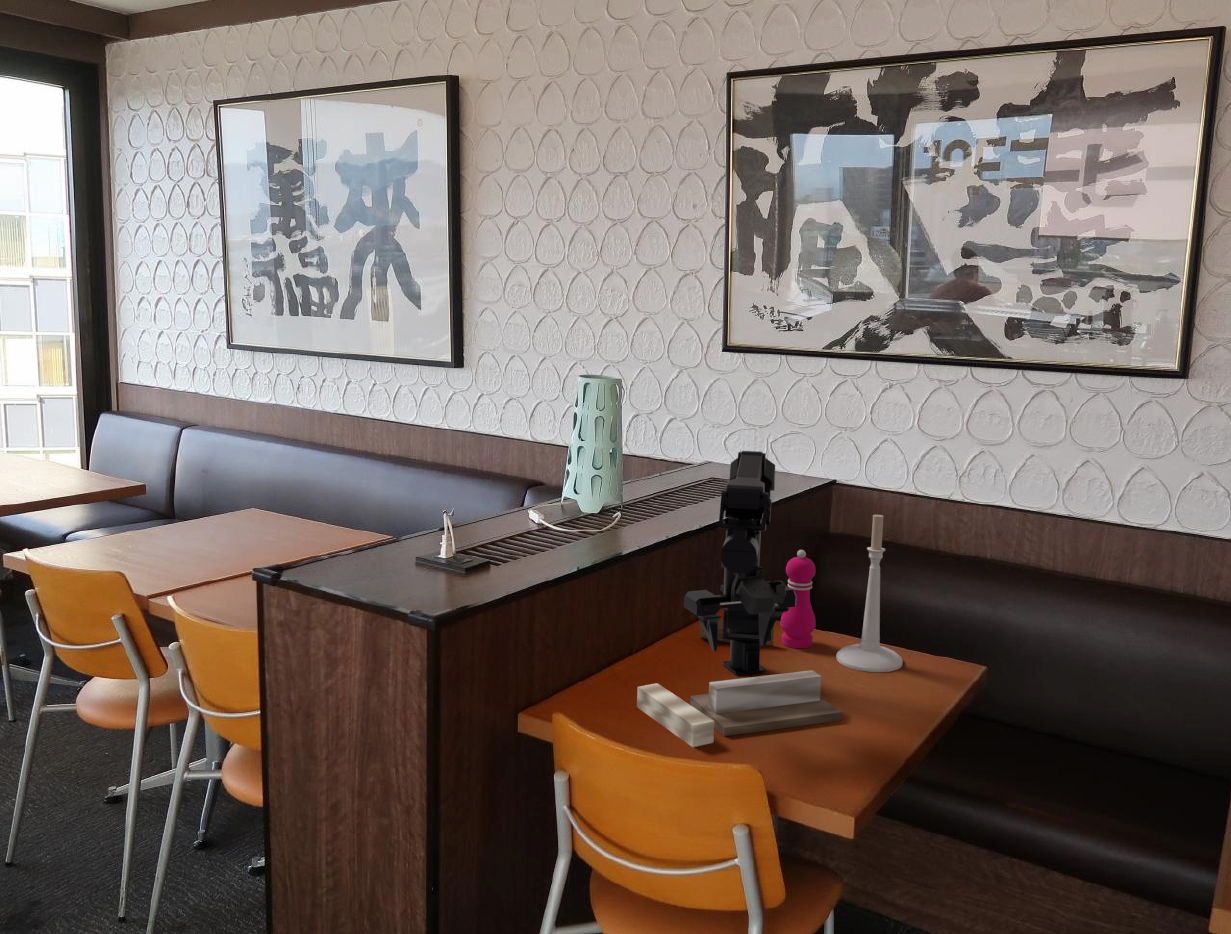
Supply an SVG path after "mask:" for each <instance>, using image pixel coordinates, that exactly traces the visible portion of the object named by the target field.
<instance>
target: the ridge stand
mask: <svg viewBox="0 0 1231 934" xmlns="http://www.w3.org/2000/svg"><path fill="white" fill-rule="evenodd" d="M708 684H709V685H708V693H704V694H695V695H690V697H689V705H691V706H692V707H694V708H695V709H697V710H698V711H700V712H701V713H703V714H704V715H706V716H707V717H709V718H710V719H712V720H714V729H715V730H716V731H717V732H719V733H720V735H721V736H722V737H729V736H738V735H744V734H752V733H758V732H765V731H773V730H781V729H788V728H795V727H802V726H809V725H810V726H811V725H817V724H823V723H824V724H825V723H832V722H838V721H842V711H841V710H840V709H838V708H837V707H836V706H834V705H833V704H831V703H830V702H829V701H827V700H825V699H824V698H823V697H821V686H822V685H821V684H822V676H821V675H820V674H819V673H817V672H816V671H815V670H812V669H811V670H803V671H794V672H785V673H777V674H770V675H760V676H752V677H745V678H744V677H743V678H734V679H725V680H717V681H710V682H708Z"/></svg>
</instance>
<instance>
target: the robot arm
mask: <svg viewBox="0 0 1231 934" xmlns="http://www.w3.org/2000/svg"><path fill="white" fill-rule="evenodd" d="M729 468H730V469H729V479H728V481H727V484H726V486H725V489H722V490H721V495H720V505H719V517H718V529H726V530H725V540H724V542H723V545H722V548H721V549H720V560H721V562H720V567H721V568H722V569H724V573H723V574H724V578H723V584H720V586H719V587H720V588H719V589H720V592H721V593H723V594H717V595H715V594H714V593H713V592H710V591H709V590H707V589H700V590H699V589H698V590H689V591H687V592H686V593H685V596H684V597H683V608H685V609H686V610H687V611H689V612H690V613H692V614H694V615H695V616H697V617H698V619H700V621H701V623H702V625H703V628H704V630H705V633H706V636H707V638H708V639H707V638H706V639H707V640H708V643H709V645H710V648H711V651H713V652H714V653H715V652H717V650H718V646H719V645H718V644H719V643H718V642H719V641H718V621H719V620H721V617H722V616H721V615H719V614H718V612H720V610H721V607H727V608H724V610H723V619H722V620H723V640H726V639H727V640H731V642H730V646H729V647H730V650H729V660H726V661H725V660H723V662H722V665H723V666H724V667H725V668H727V669H728V670H730V672H732V673H733V674H735V675H736V676H743V675H749V674H750V675H752V674H759V673H765V672H767V668H766V667H764V666H763V665H762V664H761V646H762V647H765V646H766V645H765V644H766V643H767V641H770V640H771V630H772V628H773V626H774V627H775V623H776V621H777V620H778V618H779V617H780V616H782V614H783V613H784V612H788V611H789V608H788V607H795V606H796V599H797V596H796V594H795V592H794V590H793V589H791V588H789V587H788V585H787V586H786V583H785V582H784V580H781V579H779V580H778V579H777V580H765V576H764V574H765V573H764V572H765V571H764V567H763V566H762V565H760V559H761V557H760V555H761V539H762V538H761V535H762V534H761V533H762V532H766V531H767V526H769V525H770V524H771V514H772V513H771V512H772V511H771V510H772V499H771V497H772V496H771V495H772V492H775V488H776V464H775V463H773V462H772V460H769V459H768V458H767V455H766V452H763V451H760V450H759V451H755V450H742V451H738V452H737V458H735V459H734V460H733V461H731V462H730V467H729ZM724 518H725V519H724ZM728 628H729V629H728Z"/></svg>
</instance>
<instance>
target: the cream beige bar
mask: <svg viewBox="0 0 1231 934" xmlns="http://www.w3.org/2000/svg"><path fill="white" fill-rule="evenodd" d="M636 688H637V693H636V695H637V698H636V707H637V708H638V709H639V710H640V711H642V712H643V713H644V714H646V715H647V716H649V717H650V718H651V719H653V720H654V721H656V723H658V724H660V725H661V726H663V727H664V728H665V729H667V730H668V732H669V731H670V732H671V733H672V734H673V735H674V736H676V737H678V738H679V739H680V740H682V741H683V742H685V743H686V744H687V745H689V746H690V747H691V748H696V747H700V746H704V745H709V744H713V743H714V741H715V740H714V735H715V727H714V720H712V719H710V718H709V717H707V716H706V715H704V714H703V713H701V712H700V711H698V710H697V709H695V708H694V707H693V706H692V705H691V704H690V703H688V702H686V701H685V700H683V699H682V698H680V697H679V696H678V695H676V694H674V693H673V692H671V691H670V690H668V689H666V688H665V687H664V686H662V685H661V684H659V683H658V682H657V683H656V682H655V683H651V684H645V685H641V686H637V687H636Z"/></svg>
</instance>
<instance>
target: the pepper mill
mask: <svg viewBox="0 0 1231 934" xmlns="http://www.w3.org/2000/svg"><path fill="white" fill-rule="evenodd" d="M796 555H797V556H796V557H795V556H794V557H792V558H791V559H789V561H788V562H787V564H786V566H785V573H786V575H787V577H788V579H787V587H789V588H791V589H793V590H794V592H795V594H796V596H797V599H796V606H795V607H788V608H789V611H788V612H784V613H783V614H781V615H780V616H781V617H780V624H779V625H780V627H781V629H782V630H783V631H784V632H782V634H781V643H782V644H783V646H785V645H786V647H788V648H793V649H807V648H810V647H812V646H813V638H814V637H813V635H812V633H813V632H814V631H815V629H816V626H817V625H816V623H817V622H816V616H815V613H814V611H813V608H812V605H811V598H810V597H811V596H810V594H811V593H810V592H811V589H813V581H812V579H813V578H814V577H815V575H816V572H817V571H816V565H815V563H814V562H813V561H812V560H811V559H810V558H808V557H806V555H807V553H806V551H805V550H803V549H799V550H797V553H796Z"/></svg>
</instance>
